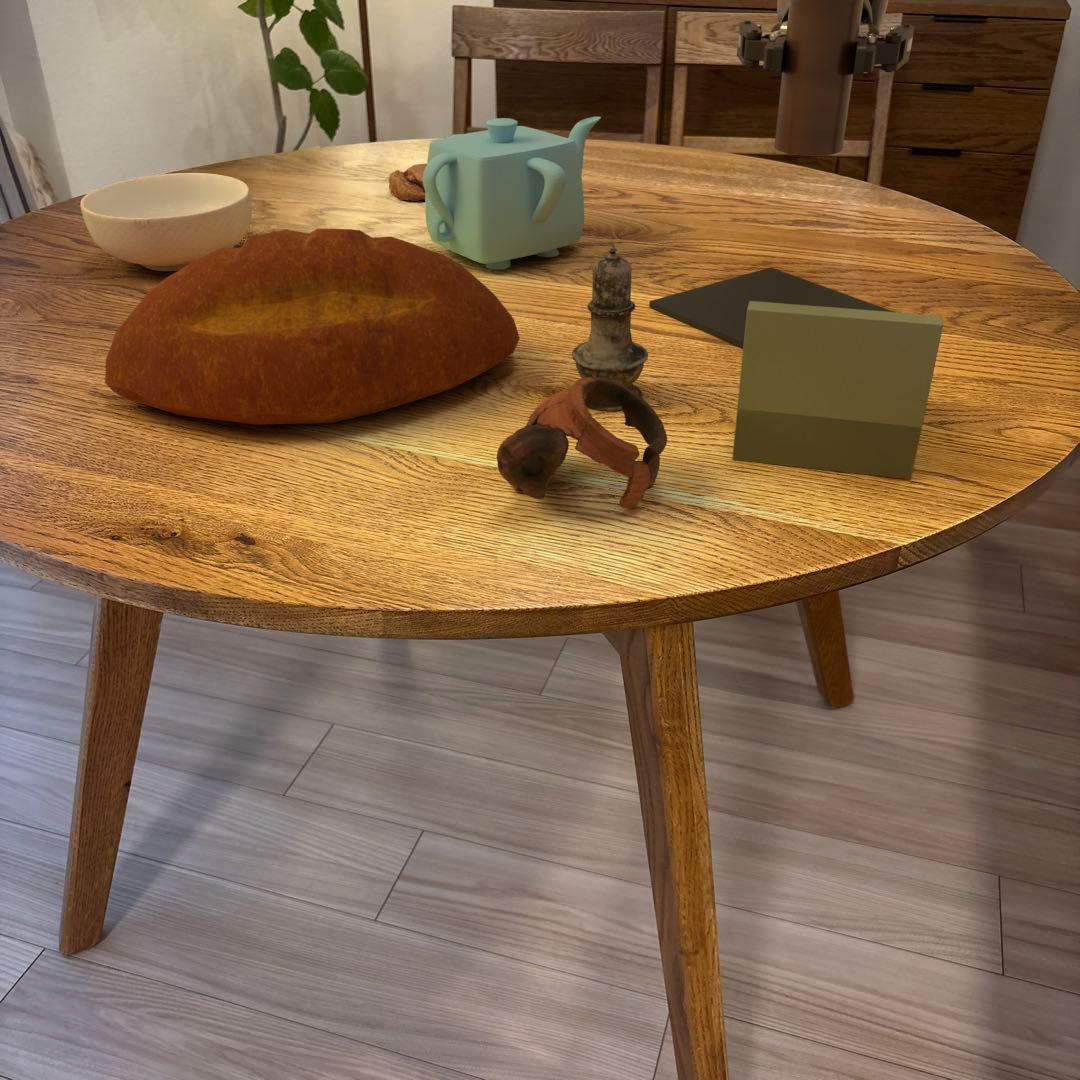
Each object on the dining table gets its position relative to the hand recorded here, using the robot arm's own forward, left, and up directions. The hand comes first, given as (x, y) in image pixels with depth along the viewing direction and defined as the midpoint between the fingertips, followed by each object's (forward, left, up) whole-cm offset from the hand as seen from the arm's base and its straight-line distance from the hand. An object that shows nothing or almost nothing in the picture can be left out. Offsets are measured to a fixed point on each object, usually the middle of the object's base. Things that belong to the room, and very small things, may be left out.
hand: (818, 61), depth 75 cm
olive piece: (+8, +12, -23) cm, 27 cm away
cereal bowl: (+33, -56, -23) cm, 69 cm away
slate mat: (-6, -7, -23) cm, 25 cm away
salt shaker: (+17, -2, -23) cm, 29 cm away
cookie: (-2, -63, -23) cm, 68 cm away
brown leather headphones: (+28, +8, -23) cm, 37 cm away
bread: (+34, -18, -23) cm, 45 cm away
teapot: (+2, -37, -23) cm, 44 cm away
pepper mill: (-2, -2, -7) cm, 7 cm away
